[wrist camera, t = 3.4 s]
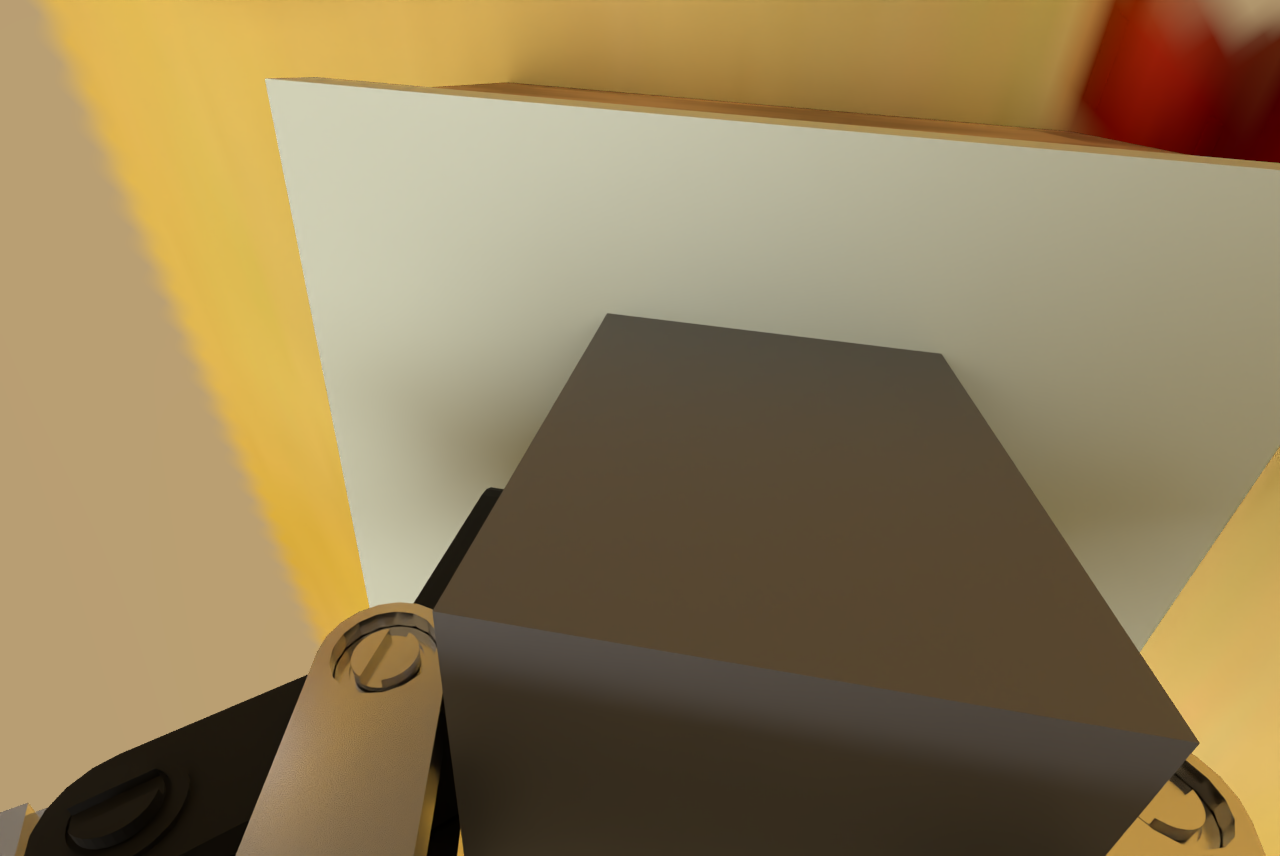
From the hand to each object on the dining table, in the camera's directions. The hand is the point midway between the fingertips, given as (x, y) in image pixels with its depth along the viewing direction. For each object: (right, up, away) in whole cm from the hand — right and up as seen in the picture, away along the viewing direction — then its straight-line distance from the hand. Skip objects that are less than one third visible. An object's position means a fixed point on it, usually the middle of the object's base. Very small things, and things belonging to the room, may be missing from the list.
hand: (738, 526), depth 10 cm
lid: (0, +1, +2) cm, 2 cm away
